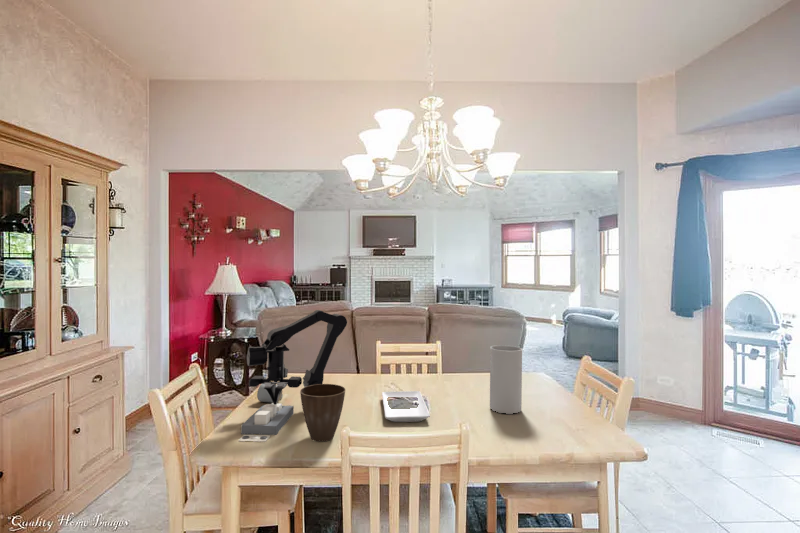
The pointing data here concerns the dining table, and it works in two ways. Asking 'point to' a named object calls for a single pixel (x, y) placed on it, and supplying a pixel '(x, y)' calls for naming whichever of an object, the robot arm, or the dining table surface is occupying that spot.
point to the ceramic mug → (265, 394)
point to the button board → (272, 426)
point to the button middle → (270, 409)
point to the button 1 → (262, 418)
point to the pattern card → (255, 438)
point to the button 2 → (278, 406)
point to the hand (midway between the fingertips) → (275, 404)
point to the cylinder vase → (505, 379)
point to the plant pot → (322, 409)
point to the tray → (405, 414)
